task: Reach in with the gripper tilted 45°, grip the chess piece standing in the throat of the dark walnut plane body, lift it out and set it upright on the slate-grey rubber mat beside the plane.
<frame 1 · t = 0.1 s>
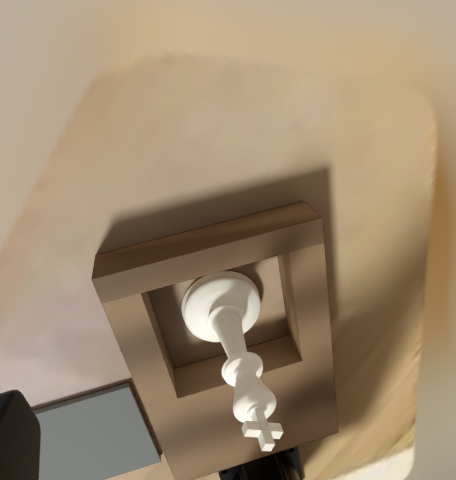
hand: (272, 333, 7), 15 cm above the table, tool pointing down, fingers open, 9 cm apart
chess piece: (220, 302, 25), resting in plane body
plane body: (221, 304, 25), on the table
rubber mat: (88, 439, 28), on the table
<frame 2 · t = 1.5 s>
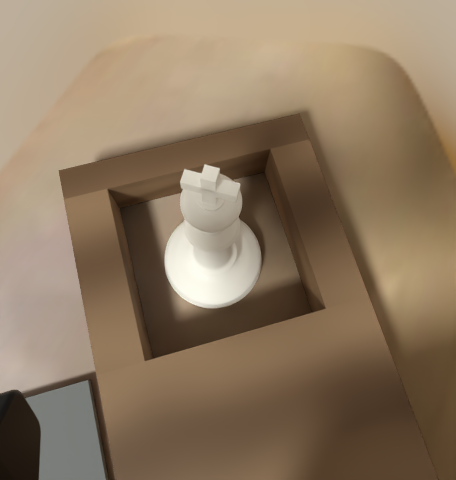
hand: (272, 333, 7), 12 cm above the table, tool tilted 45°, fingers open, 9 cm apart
chess piece: (213, 260, 21), resting in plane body
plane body: (213, 259, 21), on the table
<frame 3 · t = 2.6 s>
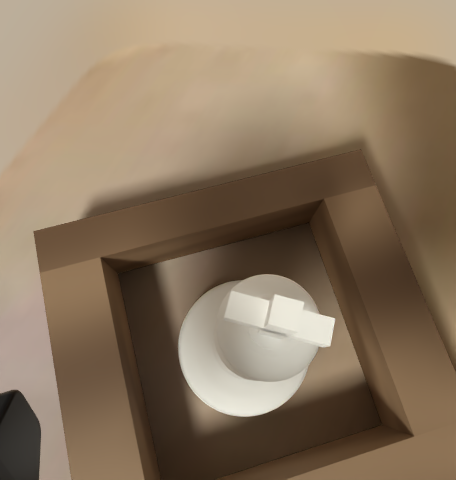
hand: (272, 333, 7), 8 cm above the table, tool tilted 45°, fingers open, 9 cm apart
chess piece: (243, 345, 15), resting in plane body
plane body: (243, 345, 15), on the table
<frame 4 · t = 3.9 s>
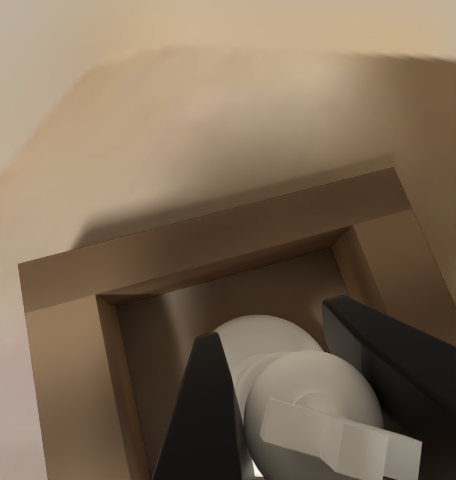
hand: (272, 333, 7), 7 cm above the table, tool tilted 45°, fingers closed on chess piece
chess piece: (259, 389, 14), resting in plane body, touching gripper
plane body: (259, 390, 13), on the table
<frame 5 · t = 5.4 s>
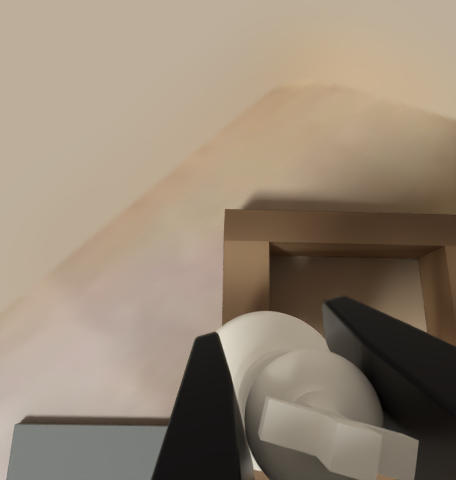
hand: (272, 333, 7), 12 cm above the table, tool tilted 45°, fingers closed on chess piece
chess piece: (266, 385, 14), point 6 cm above the table, touching gripper
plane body: (346, 337, 20), on the table
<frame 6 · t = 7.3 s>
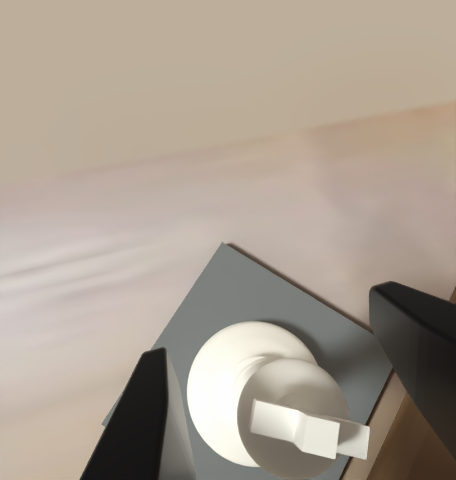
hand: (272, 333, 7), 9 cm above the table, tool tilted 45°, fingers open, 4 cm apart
chess piece: (254, 389, 15), resting on rubber mat
rubber mat: (254, 385, 15), on the table
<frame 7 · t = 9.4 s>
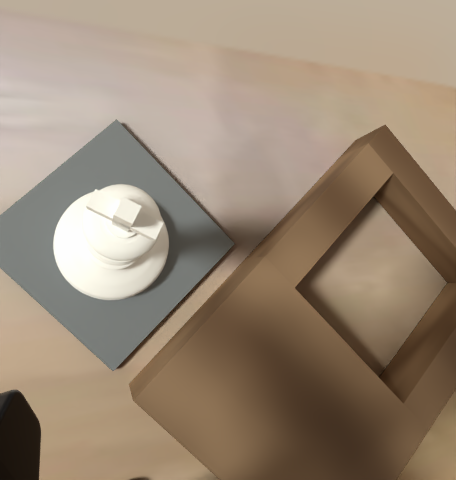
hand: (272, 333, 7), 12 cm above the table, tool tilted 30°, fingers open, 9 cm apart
chess piece: (113, 244, 18), resting on rubber mat
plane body: (366, 284, 22), on the table
rubber mat: (114, 242, 19), on the table
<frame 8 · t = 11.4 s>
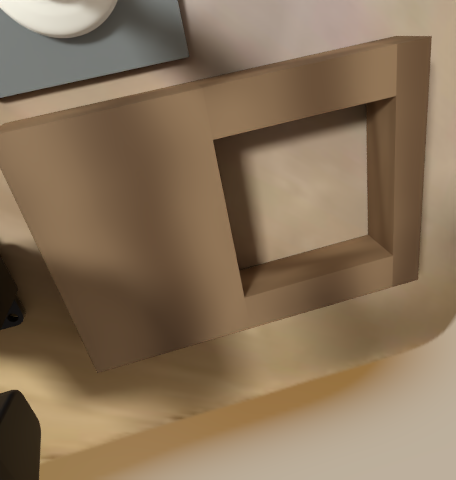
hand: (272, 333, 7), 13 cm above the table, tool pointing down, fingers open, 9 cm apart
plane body: (294, 187, 21), on the table
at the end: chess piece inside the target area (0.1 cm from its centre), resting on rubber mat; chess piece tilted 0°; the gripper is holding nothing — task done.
